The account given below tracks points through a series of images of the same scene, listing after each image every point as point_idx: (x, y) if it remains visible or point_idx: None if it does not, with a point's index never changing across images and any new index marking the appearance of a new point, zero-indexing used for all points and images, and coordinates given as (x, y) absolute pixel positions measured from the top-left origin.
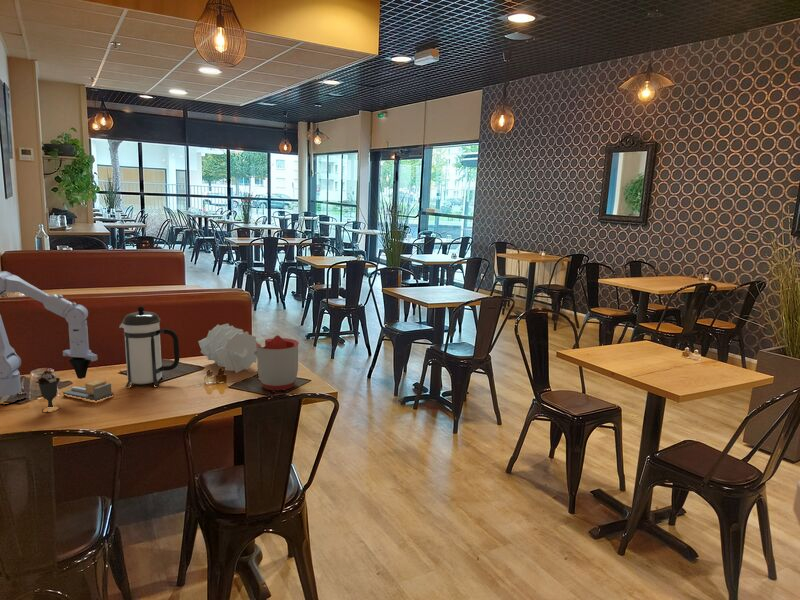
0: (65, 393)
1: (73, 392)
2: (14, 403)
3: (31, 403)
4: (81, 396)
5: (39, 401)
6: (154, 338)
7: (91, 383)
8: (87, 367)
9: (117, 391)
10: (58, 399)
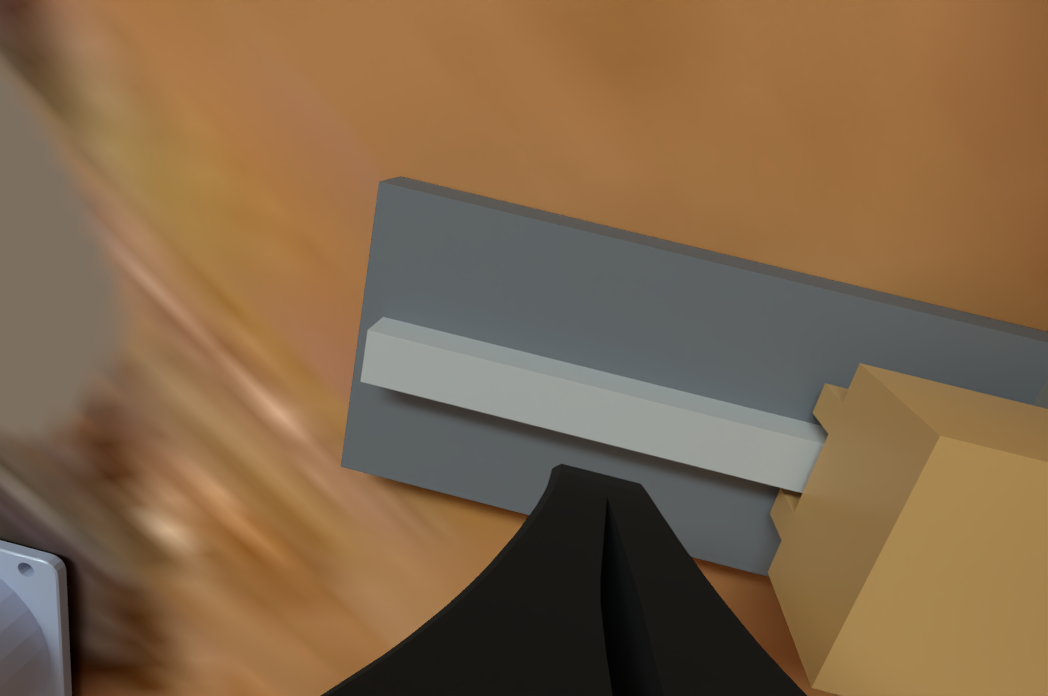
0: (389, 471)
1: (487, 455)
2: (85, 675)
3: (230, 661)
4: (697, 553)
5: (252, 608)
6: None
7: (938, 667)
8: (771, 681)
9: (1042, 84)
10: (393, 534)
